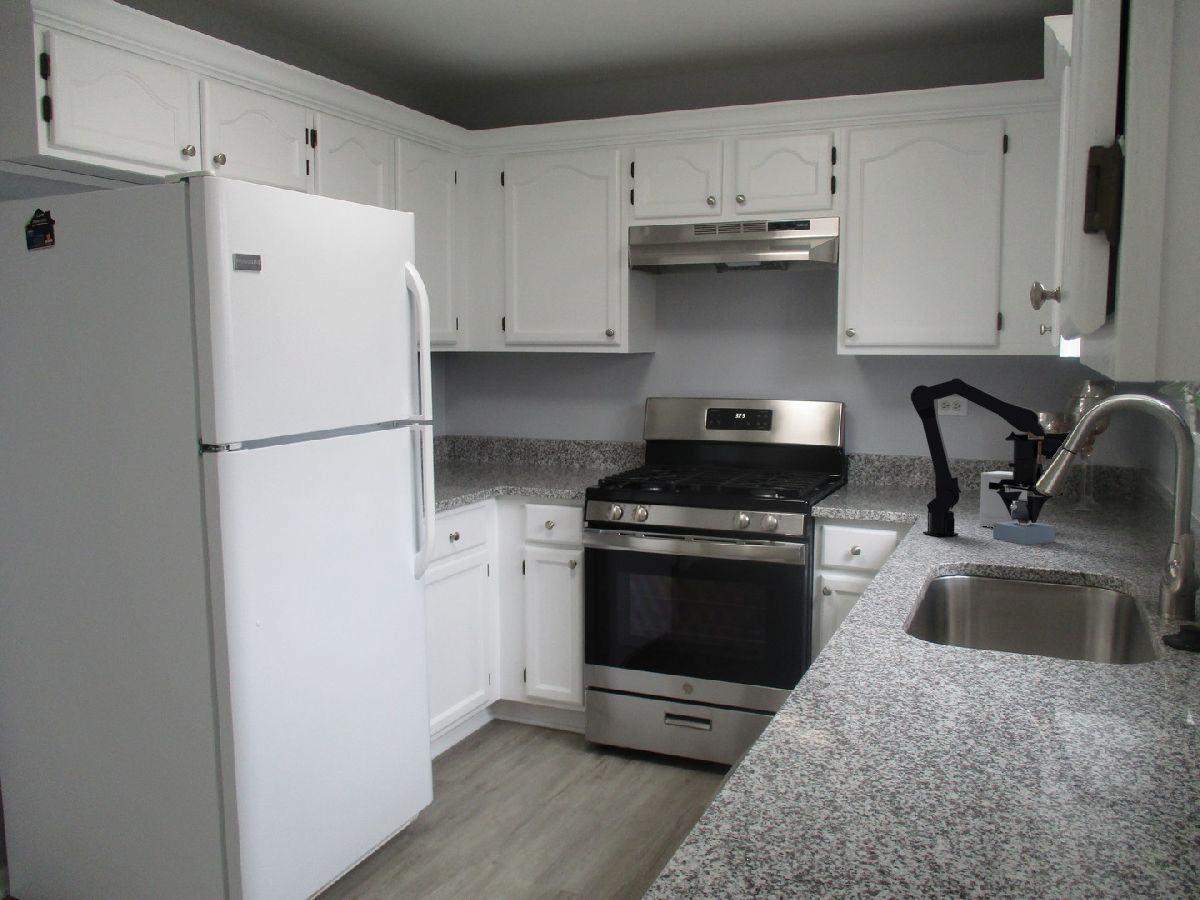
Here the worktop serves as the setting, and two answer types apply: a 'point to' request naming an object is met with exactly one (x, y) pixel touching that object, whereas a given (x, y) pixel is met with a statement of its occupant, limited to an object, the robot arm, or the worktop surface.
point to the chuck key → (1020, 511)
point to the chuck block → (1024, 532)
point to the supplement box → (994, 500)
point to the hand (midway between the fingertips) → (1023, 521)
